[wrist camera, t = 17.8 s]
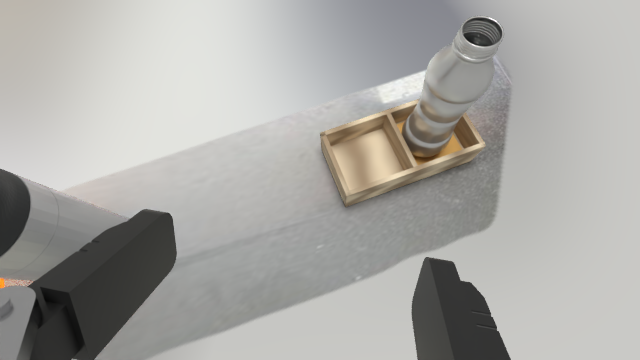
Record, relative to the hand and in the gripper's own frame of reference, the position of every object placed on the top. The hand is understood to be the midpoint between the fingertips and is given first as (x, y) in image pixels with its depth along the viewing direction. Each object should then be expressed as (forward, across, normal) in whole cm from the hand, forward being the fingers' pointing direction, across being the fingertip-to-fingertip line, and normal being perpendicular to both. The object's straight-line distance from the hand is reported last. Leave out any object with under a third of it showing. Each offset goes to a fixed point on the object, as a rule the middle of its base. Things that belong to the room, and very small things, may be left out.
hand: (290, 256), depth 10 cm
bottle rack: (+37, -7, +9) cm, 39 cm away
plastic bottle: (+38, -11, +7) cm, 40 cm away
